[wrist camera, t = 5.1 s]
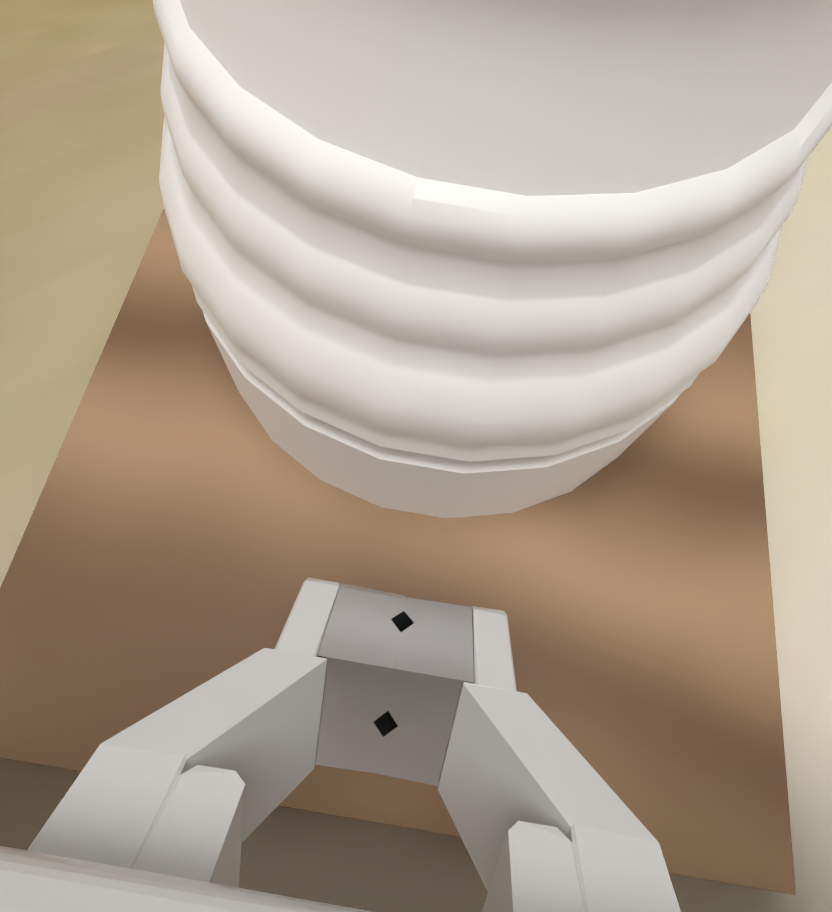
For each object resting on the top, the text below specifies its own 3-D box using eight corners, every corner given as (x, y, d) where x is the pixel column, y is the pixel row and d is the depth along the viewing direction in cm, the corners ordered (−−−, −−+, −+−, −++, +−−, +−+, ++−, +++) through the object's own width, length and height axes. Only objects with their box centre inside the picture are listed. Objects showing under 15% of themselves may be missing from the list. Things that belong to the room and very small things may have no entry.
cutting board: (777, 885, 12) (795, 894, 12) (-48, 743, 13) (-68, 745, 12) (729, 195, 20) (739, 181, 19) (217, 110, 20) (213, 94, 20)
